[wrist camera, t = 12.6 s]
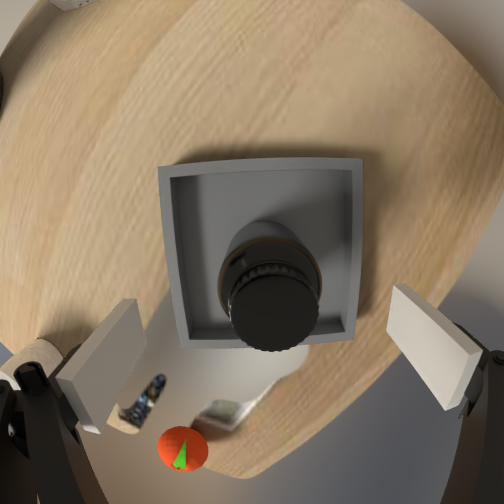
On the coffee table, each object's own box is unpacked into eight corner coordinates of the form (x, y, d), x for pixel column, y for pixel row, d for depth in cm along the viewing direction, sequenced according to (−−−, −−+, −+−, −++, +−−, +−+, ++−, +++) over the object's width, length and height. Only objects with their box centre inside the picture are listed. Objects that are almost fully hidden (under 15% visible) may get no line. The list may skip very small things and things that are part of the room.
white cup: (29, 325, 30) (-12, 359, 20) (70, 351, 30) (32, 394, 21) (33, 362, 32) (-1, 397, 22) (70, 386, 32) (40, 428, 23)
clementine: (166, 406, 32) (153, 445, 25) (217, 419, 33) (211, 460, 26) (162, 436, 34) (151, 471, 27) (206, 448, 35) (200, 484, 28)
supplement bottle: (310, 278, 26) (347, 349, 15) (241, 298, 27) (233, 380, 15) (290, 208, 25) (323, 234, 13) (217, 231, 25) (187, 275, 14)
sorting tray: (168, 167, 25) (157, 166, 22) (350, 160, 24) (362, 158, 21) (187, 332, 29) (181, 348, 26) (345, 325, 29) (353, 339, 26)
